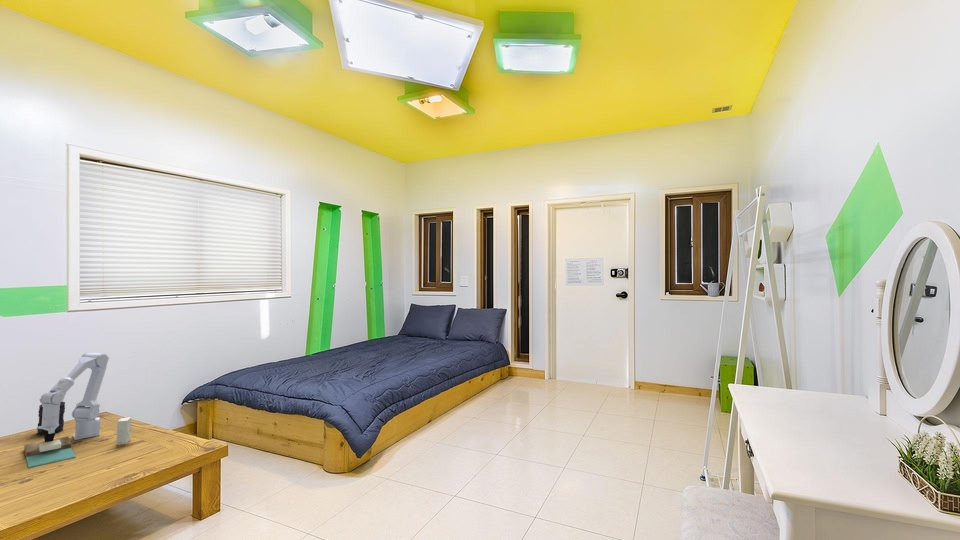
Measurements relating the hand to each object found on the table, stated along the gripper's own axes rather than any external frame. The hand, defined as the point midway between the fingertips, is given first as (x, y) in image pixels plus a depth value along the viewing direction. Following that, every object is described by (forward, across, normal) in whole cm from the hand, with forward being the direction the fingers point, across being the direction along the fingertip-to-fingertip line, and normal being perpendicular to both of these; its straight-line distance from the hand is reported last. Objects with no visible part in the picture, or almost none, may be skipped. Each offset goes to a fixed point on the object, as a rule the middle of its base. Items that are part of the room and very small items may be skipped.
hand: (48, 444), depth 198 cm
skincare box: (+3, +11, +26) cm, 29 cm away
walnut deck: (+3, -2, 0) cm, 4 cm away
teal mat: (+3, +11, 0) cm, 12 cm away
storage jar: (+3, -29, +3) cm, 29 cm away
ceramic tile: (+1, +4, 0) cm, 4 cm away
